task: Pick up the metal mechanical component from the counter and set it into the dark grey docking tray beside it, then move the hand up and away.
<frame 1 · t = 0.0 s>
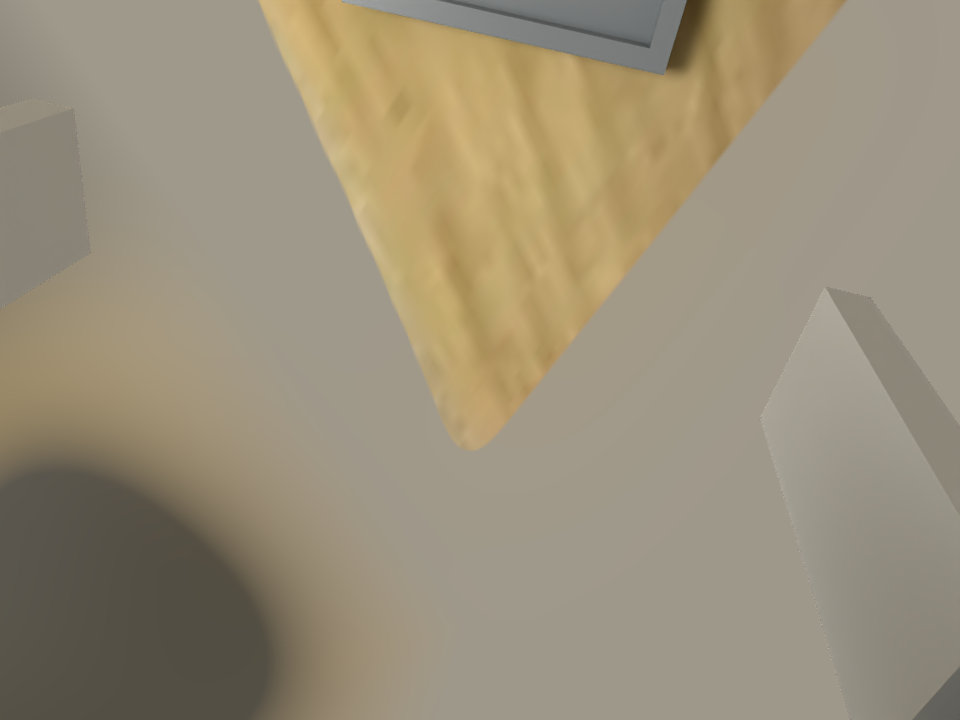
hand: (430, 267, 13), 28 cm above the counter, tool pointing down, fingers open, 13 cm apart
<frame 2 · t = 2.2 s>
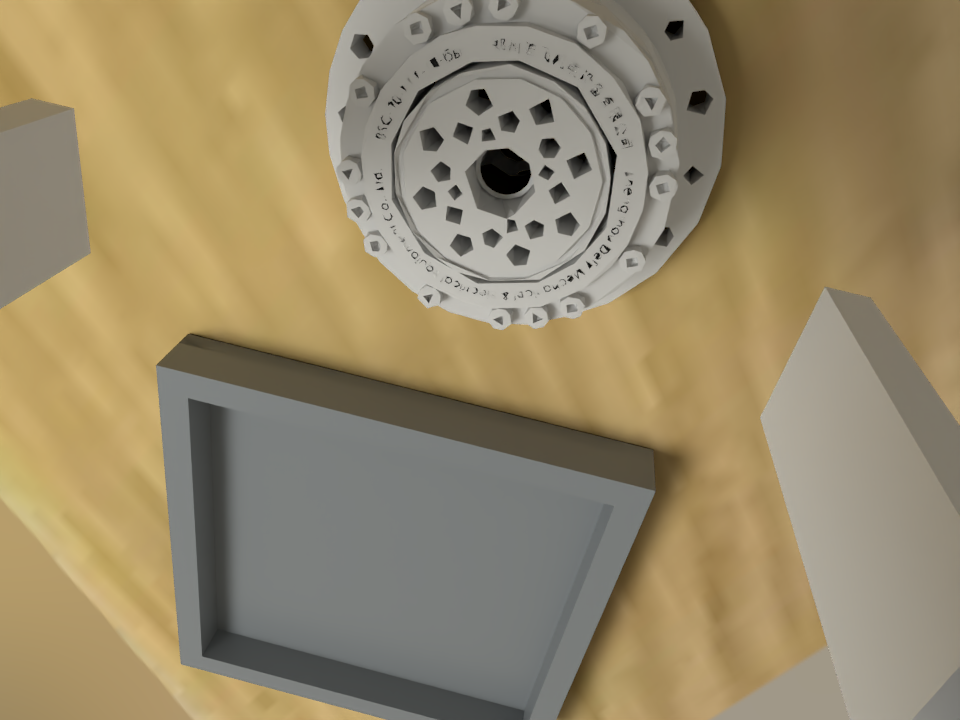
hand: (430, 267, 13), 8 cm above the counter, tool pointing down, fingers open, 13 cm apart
mechanical component: (524, 128, 19), on the counter
dock tray: (390, 552, 28), on the counter
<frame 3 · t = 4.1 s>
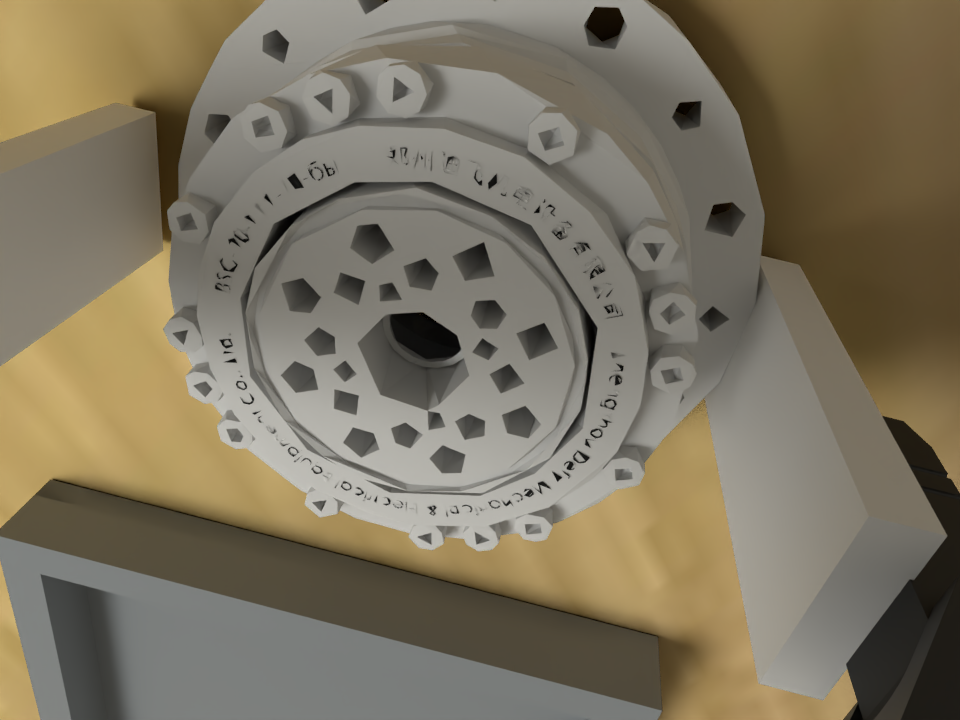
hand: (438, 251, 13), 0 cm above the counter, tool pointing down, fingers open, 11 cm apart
mechanical component: (471, 236, 14), on the counter, touching gripper
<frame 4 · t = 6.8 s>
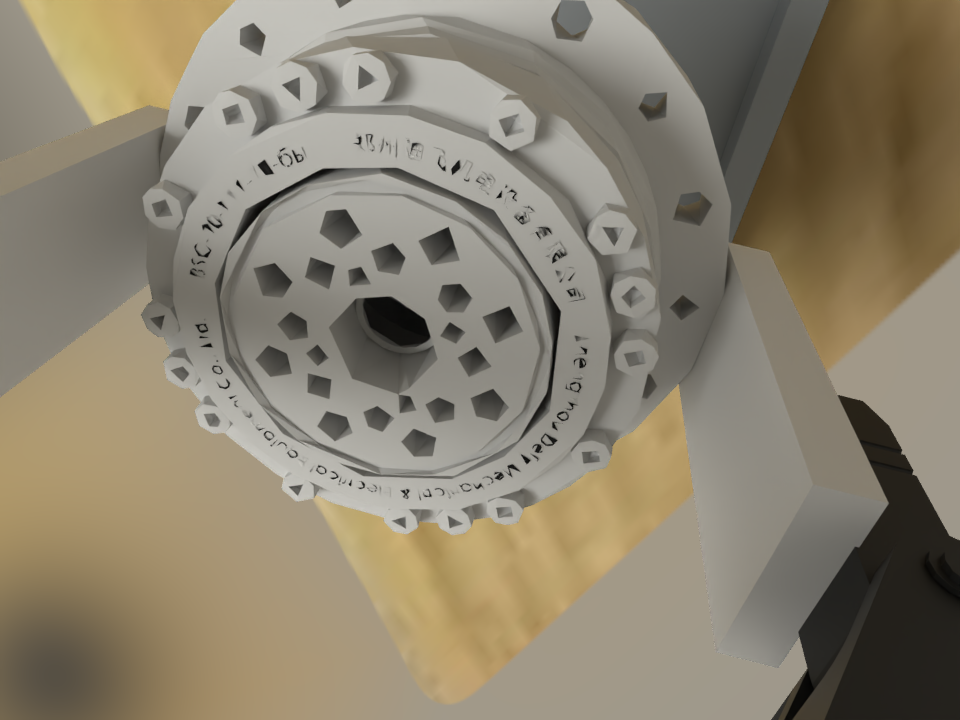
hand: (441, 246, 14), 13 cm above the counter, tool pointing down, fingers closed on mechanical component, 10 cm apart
mechanical component: (449, 228, 14), point 13 cm above the counter, touching gripper
dock tray: (520, 102, 25), on the counter
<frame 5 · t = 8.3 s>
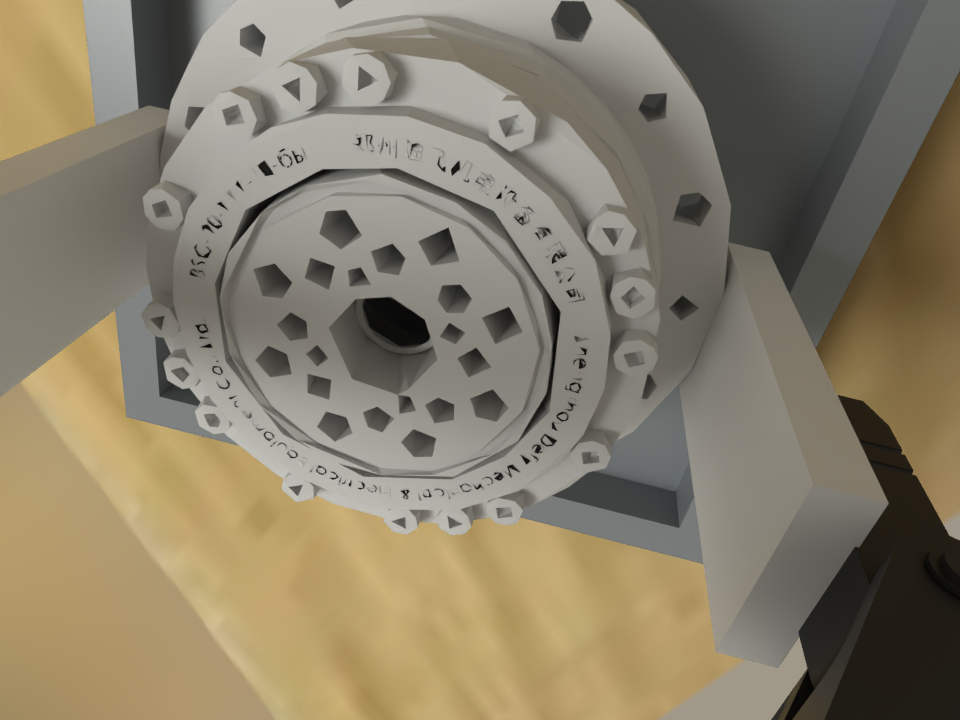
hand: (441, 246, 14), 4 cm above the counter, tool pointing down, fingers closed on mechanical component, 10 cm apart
mechanical component: (449, 228, 14), point 3 cm above the counter, touching gripper
dock tray: (476, 180, 17), on the counter
when the fingers open (2 cm above the counter, at t = 9.2 s): mechanical component drops 1 cm, resting on dock tray.
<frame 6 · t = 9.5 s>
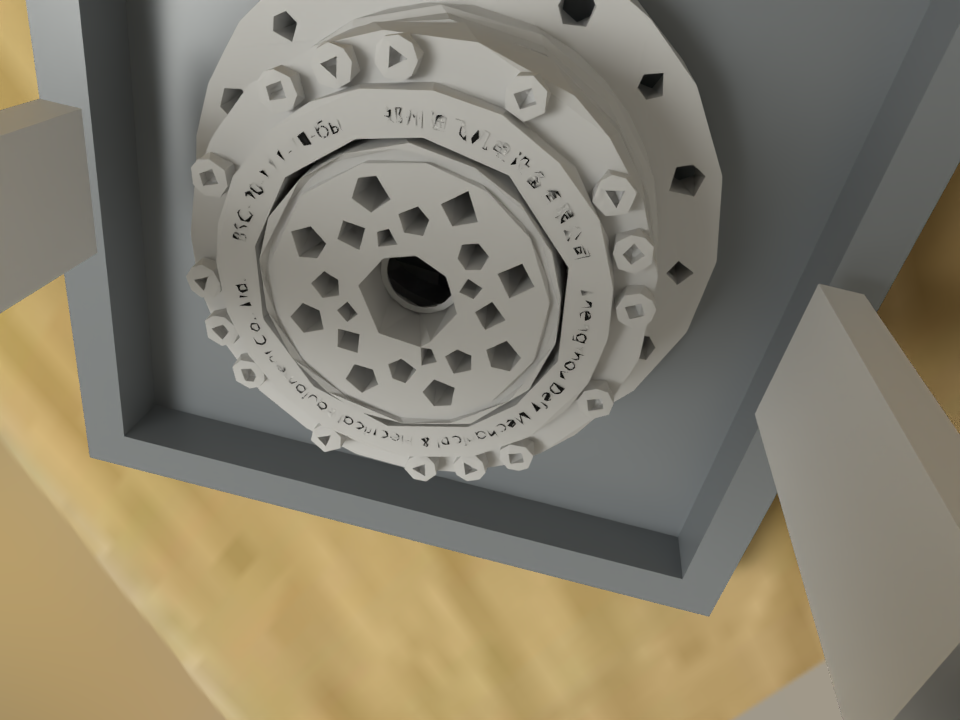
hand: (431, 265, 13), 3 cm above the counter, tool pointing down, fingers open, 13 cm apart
mechanical component: (462, 203, 15), resting on dock tray
dock tray: (462, 207, 15), on the counter
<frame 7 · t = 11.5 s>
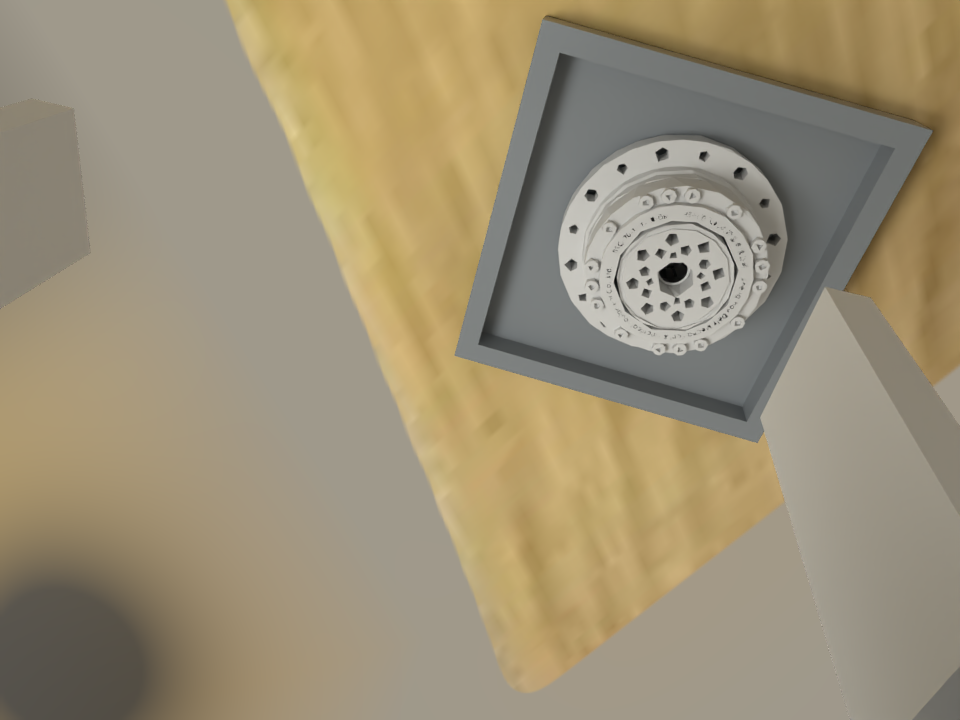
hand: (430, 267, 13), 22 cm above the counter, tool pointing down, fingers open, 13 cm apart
mechanical component: (666, 240, 34), resting on dock tray
dock tray: (660, 242, 34), on the counter
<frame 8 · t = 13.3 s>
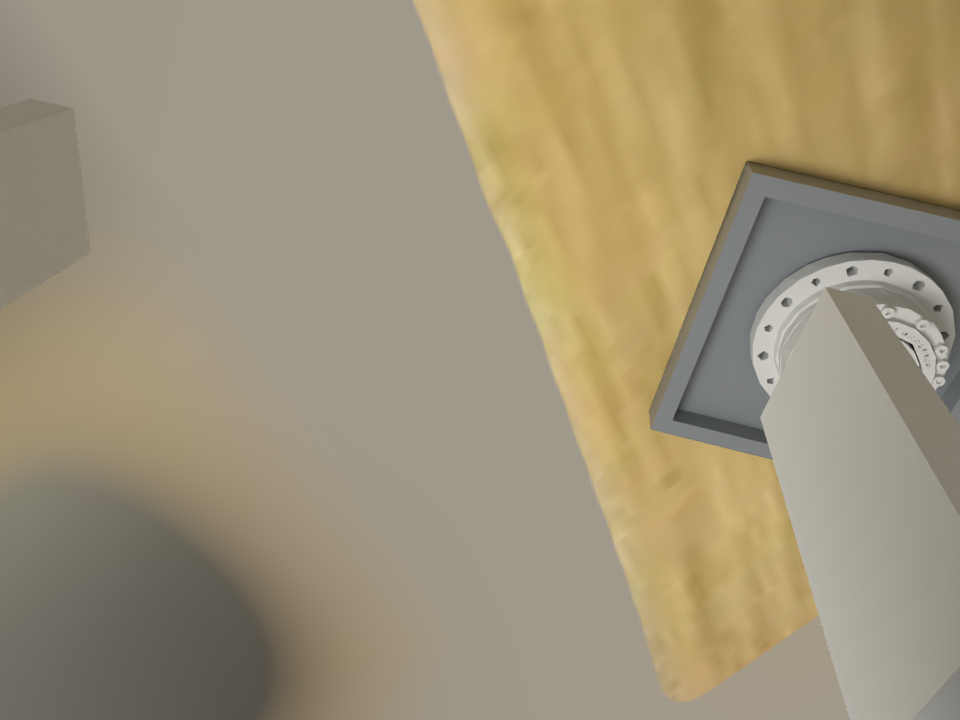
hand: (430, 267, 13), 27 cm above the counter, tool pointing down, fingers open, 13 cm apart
mechanical component: (842, 332, 40), resting on dock tray
dock tray: (832, 332, 40), on the counter
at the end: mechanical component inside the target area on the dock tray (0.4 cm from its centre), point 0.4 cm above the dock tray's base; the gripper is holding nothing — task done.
